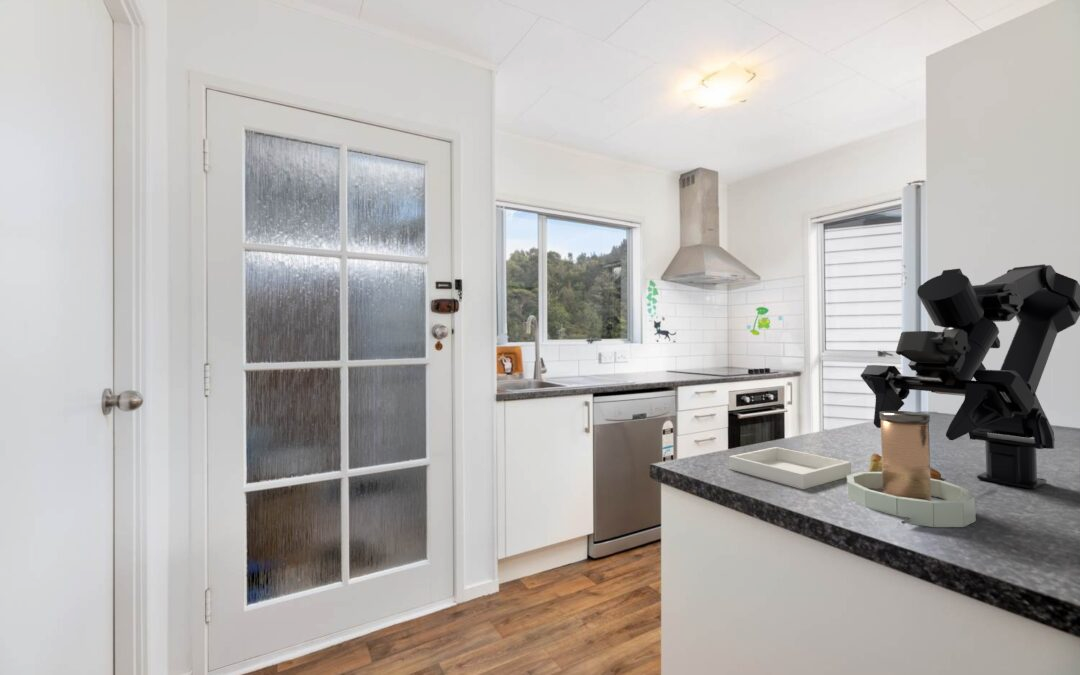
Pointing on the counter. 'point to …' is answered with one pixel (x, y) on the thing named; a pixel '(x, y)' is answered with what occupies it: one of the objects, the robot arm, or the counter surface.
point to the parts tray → (790, 467)
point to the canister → (906, 454)
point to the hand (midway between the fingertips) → (910, 431)
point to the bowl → (915, 502)
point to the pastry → (877, 467)
